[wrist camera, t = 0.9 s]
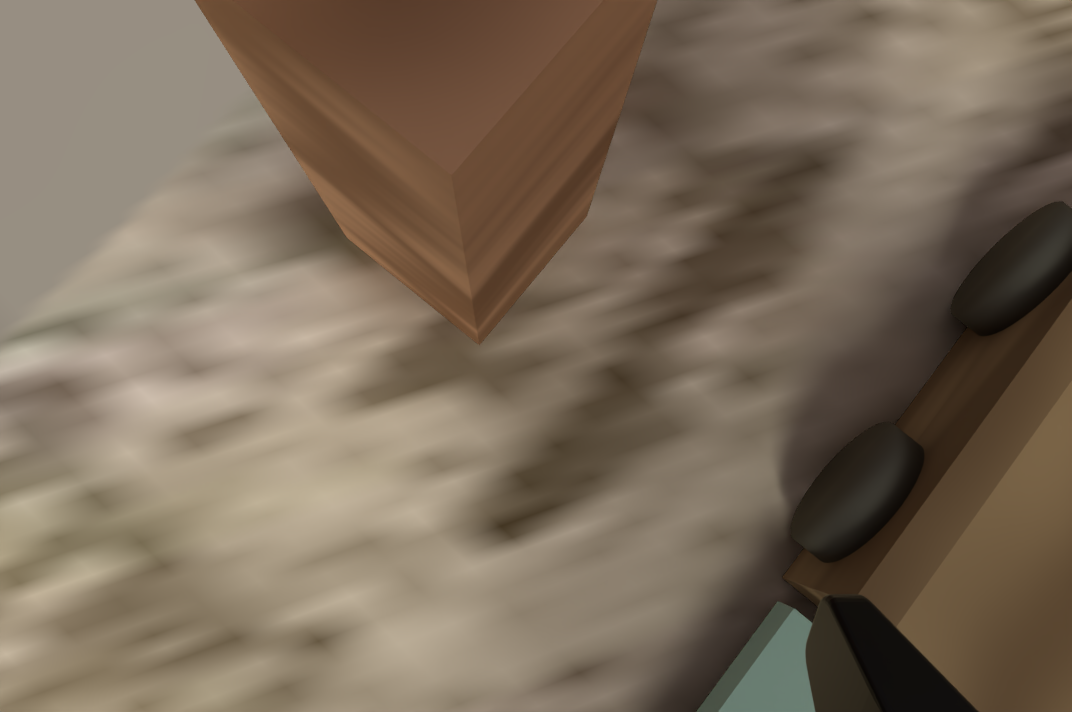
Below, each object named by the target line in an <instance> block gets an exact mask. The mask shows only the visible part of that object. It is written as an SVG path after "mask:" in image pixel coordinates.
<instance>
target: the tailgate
mask: <svg viewBox="0 0 1072 712" xmlns="http://www.w3.org/2000/svg"><path fill="white" fill-rule="evenodd" d="M811 626H812V622H810V621H809V620H808V619H807V618H806V617H804V616H803V615H802V614H801V613H799V612H798V611H797V610H796V609H794V608H792V607H790V606H788V605H786V604H783V603H781V602H779V601H778V602H777V603H776V604H775V606H774V607H773V608H772V610H771V611H770V612H769V614H768V615H767V616H766V618H765V619H764V621H763V622H762V623H761V625H760V626H759V627H758V629H757V630H756V631H755V633H754V634H753V635H752V637H751V638H750V640H749V641H748V642H747V644H746V645H745V646H744V648H743V649H742V650H741V652H740V653H739V654H738V656H737V657H736V658H735V660H734V661H733V663H732V664H731V665H730V667H729V668H728V669H727V671H726V672H725V673H724V675H723V676H722V677H721V679H720V680H719V682H718V683H717V684H716V686H715V687H714V688H713V690H712V691H711V692H710V694H709V695H708V696H707V698H706V699H705V701H704V702H703V703H702V705H701V706H700V707H699V709H698V710H697V711H696V712H815V708H814V703H813V698H812V692H811V687H810V682H809V677H808V672H807V666H806V657H805V649H806V642H807V638H808V635H809V632H810V629H811Z"/></svg>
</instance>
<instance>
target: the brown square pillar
mask: <svg viewBox="0 0 1072 712" xmlns="http://www.w3.org/2000/svg"><path fill="white" fill-rule="evenodd" d="M195 1H196V3H197V5H198V6H199V8H200V9H201V11H202V12H203V14H204V15H205V17H206V19H207V20H208V22H209V23H210V25H211V26H212V28H213V30H214V31H215V33H216V34H217V36H218V37H219V39H220V40H221V42H222V44H223V45H224V47H225V48H226V50H227V51H228V53H229V55H230V56H231V58H232V59H233V61H234V62H235V64H236V65H237V67H238V69H239V70H240V72H241V73H242V75H243V76H244V78H245V79H246V81H247V83H248V84H249V86H250V87H251V89H252V90H253V92H254V93H255V95H256V97H257V98H258V100H259V101H260V103H261V104H262V106H263V108H264V109H265V111H266V112H267V114H268V115H269V117H270V118H271V120H272V122H273V123H274V125H275V126H276V128H277V129H278V131H279V132H280V134H281V136H282V137H283V139H284V140H285V142H286V143H287V145H288V147H289V148H290V150H291V151H292V153H293V154H294V156H295V157H296V159H297V161H298V162H299V164H300V165H301V167H302V168H303V170H304V171H305V173H306V175H307V176H308V178H309V179H310V181H311V182H312V184H313V186H314V187H315V189H316V190H317V192H318V193H319V195H320V196H321V198H322V200H323V201H324V203H325V204H326V206H327V207H328V209H329V210H330V212H331V214H332V215H333V217H334V218H335V220H336V221H337V223H338V225H339V226H340V228H341V229H342V231H343V232H344V234H345V235H346V237H347V238H348V239H349V240H350V241H351V242H353V243H354V244H355V245H356V246H358V247H359V248H360V249H361V250H363V251H364V252H365V253H366V254H368V255H369V256H370V257H371V258H372V259H374V260H375V261H376V262H377V263H379V264H380V265H381V266H382V267H384V268H385V269H386V270H387V271H388V272H390V273H391V274H392V275H393V276H395V277H396V278H397V279H398V280H400V281H401V282H402V283H403V284H405V285H406V286H407V287H408V288H409V289H411V290H412V291H413V292H414V293H416V294H417V295H418V296H419V297H421V298H422V299H423V300H424V301H426V302H427V303H428V304H429V305H430V306H432V307H433V308H434V309H435V310H437V311H438V312H439V313H440V314H442V315H443V316H444V317H445V318H446V319H448V320H449V321H450V322H451V323H453V324H454V325H455V326H456V327H458V328H459V329H460V330H461V331H463V332H464V333H465V334H466V335H467V336H469V337H470V338H471V339H472V340H474V341H475V342H476V343H477V344H479V345H480V344H481V343H482V341H483V340H484V339H485V338H486V337H487V335H488V334H489V333H490V332H491V331H492V329H493V328H494V327H495V326H496V325H497V323H498V322H499V321H500V320H501V318H502V317H503V316H504V315H505V314H506V312H507V311H508V310H509V309H510V308H511V306H512V305H513V304H514V303H515V302H516V300H517V299H518V298H519V297H520V296H521V294H522V293H523V292H524V291H525V290H526V288H527V287H528V286H529V285H530V284H531V282H532V281H533V280H534V279H535V278H536V276H537V275H538V274H539V273H540V272H541V270H542V269H543V268H544V267H545V266H546V264H547V263H548V262H549V261H550V260H551V258H552V257H553V256H554V255H555V254H556V252H557V251H558V250H559V249H560V248H561V246H562V245H563V244H564V243H565V242H566V240H567V239H568V238H569V237H570V236H571V234H572V233H573V232H574V231H575V230H576V228H577V227H578V226H579V225H580V224H581V222H582V221H583V220H584V219H585V218H586V216H587V214H588V211H589V208H590V205H591V201H592V198H593V195H594V192H595V189H596V186H597V183H598V180H599V177H600V174H601V171H602V168H603V165H604V162H605V159H606V156H607V153H608V149H609V146H610V143H611V140H612V137H613V134H614V131H615V128H616V125H617V122H618V119H619V116H620V113H621V110H622V107H623V104H624V101H625V98H626V94H627V91H628V88H629V85H630V82H631V79H632V76H633V73H634V70H635V67H636V64H637V61H638V58H639V55H640V52H641V49H642V46H643V43H644V39H645V36H646V33H647V30H648V27H649V24H650V21H651V18H652V15H653V12H654V9H655V6H656V3H657V0H195Z"/></svg>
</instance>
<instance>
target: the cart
mask: <svg viewBox="0 0 1072 712" xmlns="http://www.w3.org/2000/svg"><path fill="white" fill-rule="evenodd" d="M951 314H952V315H953V316H955V317H956V318H957V319H958V320H960V321H961V322H962V323H964V324H965V325H966V326H967V328H966V330H965V331H964V333H963V334H962V335H961V337H960V338H959V339H958V341H957V342H956V343H955V345H954V346H953V347H952V349H951V350H950V351H949V353H948V354H947V356H946V357H945V358H944V360H943V361H942V362H941V364H940V365H939V366H938V368H937V369H936V370H935V372H934V373H933V374H932V376H931V377H930V378H929V380H928V381H927V383H926V384H925V385H924V387H923V388H922V389H921V391H920V392H919V393H918V395H917V396H916V397H915V399H914V400H913V401H912V403H911V404H910V406H909V407H908V408H907V410H906V411H905V412H904V414H903V415H902V416H901V418H900V419H899V420H898V422H897V423H896V424H895V425H894V424H893V423H891V422H883V423H880V424H877V425H875V426H873V427H871V428H869V429H868V430H866V431H864V432H863V433H862V434H860V435H859V436H857V437H856V438H855V439H854V440H852V441H851V442H850V443H849V444H848V445H847V446H846V447H844V448H843V449H842V450H841V451H840V452H839V453H838V454H837V455H836V456H835V457H834V458H833V459H832V461H831V462H830V463H829V464H828V465H827V466H826V467H825V468H824V470H823V471H822V472H821V473H820V474H819V476H818V477H817V478H816V480H815V481H814V482H813V484H812V485H811V486H810V488H809V489H808V491H807V492H806V494H805V496H804V497H803V499H802V501H801V502H800V504H799V506H798V508H797V510H796V512H795V515H794V517H793V520H792V524H791V536H792V538H793V539H794V540H795V541H796V542H798V543H799V544H800V545H801V546H803V547H804V549H803V550H802V551H801V553H800V554H799V556H798V557H797V558H796V560H795V561H794V562H793V564H792V565H791V566H790V568H789V569H788V570H787V572H786V573H785V574H784V576H783V577H782V578H783V579H784V580H785V581H787V582H788V583H789V584H790V585H792V586H793V587H794V588H795V589H797V590H798V591H799V592H800V593H802V594H803V595H804V596H805V597H806V598H808V599H809V600H810V601H811V602H813V603H814V604H815V605H816V606H818V605H819V603H820V601H821V599H822V598H823V597H824V596H826V595H830V594H858V595H862V596H864V597H866V598H867V599H869V600H870V601H871V602H872V603H873V604H874V605H875V606H876V607H877V608H878V609H879V610H880V611H881V612H882V613H883V614H884V615H885V616H886V617H887V618H888V619H889V620H890V621H891V622H892V623H893V624H894V625H895V626H896V627H897V628H898V629H899V631H900V632H901V633H902V634H903V635H904V636H905V637H906V638H907V639H908V640H909V641H910V642H911V643H912V644H913V645H914V646H915V647H916V648H917V649H918V650H919V651H920V652H921V653H922V654H923V655H924V656H925V657H926V658H927V659H928V660H929V661H930V662H931V663H932V664H933V665H934V666H935V667H936V668H937V669H938V670H939V671H940V672H941V673H942V674H943V676H944V677H945V678H946V679H947V680H948V681H949V682H950V683H951V684H952V685H953V686H954V687H955V688H956V689H957V690H958V691H959V692H960V693H961V694H962V695H963V696H964V697H965V698H966V699H967V700H968V701H969V702H970V703H971V704H972V705H973V706H974V707H975V708H976V709H977V710H978V711H979V712H1072V208H1070V207H1069V206H1068V205H1066V204H1065V203H1064V202H1054V203H1051V204H1049V205H1046V206H1044V207H1043V208H1041V209H1039V210H1037V211H1036V212H1034V213H1033V214H1031V215H1030V216H1028V217H1027V218H1026V219H1024V220H1023V221H1022V222H1020V223H1019V224H1018V225H1017V226H1015V227H1014V228H1013V229H1012V230H1011V231H1010V232H1008V233H1007V234H1006V235H1005V236H1004V237H1003V238H1002V239H1001V240H1000V241H999V242H998V243H997V244H996V245H995V246H994V247H993V248H991V250H990V251H989V252H988V253H987V254H986V255H985V256H984V257H983V258H982V259H981V260H980V261H979V263H978V264H977V265H976V266H975V267H974V269H973V270H972V271H971V272H970V274H969V275H968V276H967V278H966V279H965V280H964V282H963V283H962V285H961V286H960V288H959V290H958V291H957V293H956V295H955V297H954V299H953V302H952V304H951Z"/></svg>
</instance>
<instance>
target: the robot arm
mask: <svg viewBox="0 0 1072 712" xmlns="http://www.w3.org/2000/svg"><path fill="white" fill-rule="evenodd" d="M805 657H806V666H807V672H808V677H809V682H810V687H811V692H812V698H813V703H814V708H815V712H979V711H978V710H977V709H976V708H975V707H974V706H973V705H972V704H971V703H970V702H969V701H968V700H967V699H966V698H965V697H964V696H963V695H962V694H961V693H960V692H959V691H958V690H957V689H956V688H955V687H954V686H953V685H952V684H951V683H950V682H949V681H948V680H947V679H946V678H945V677H944V676H943V674H942V673H941V672H940V671H939V670H938V669H937V668H936V667H935V666H934V665H933V664H932V663H931V662H930V661H929V660H928V659H927V658H926V657H925V656H924V655H923V654H922V653H921V652H920V651H919V650H918V649H917V648H916V647H915V646H914V645H913V644H912V643H911V642H910V641H909V640H908V639H907V638H906V637H905V636H904V635H903V634H902V633H901V632H900V631H899V629H898V628H897V627H896V626H895V625H894V624H893V623H892V622H891V621H890V620H889V619H888V618H887V617H886V616H885V615H884V614H883V613H882V612H881V611H880V610H879V609H878V608H877V607H876V606H875V605H874V604H873V603H872V602H871V601H870V600H869V599H867V598H866V597H864V596H862V595H858V594H830V595H826V596H824V597H823V598H822V599H821V601H820V603H819V605H818V608H817V611H816V614H815V617H814V620H813V623H812V626H811V629H810V632H809V635H808V638H807V642H806V649H805Z"/></svg>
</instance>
